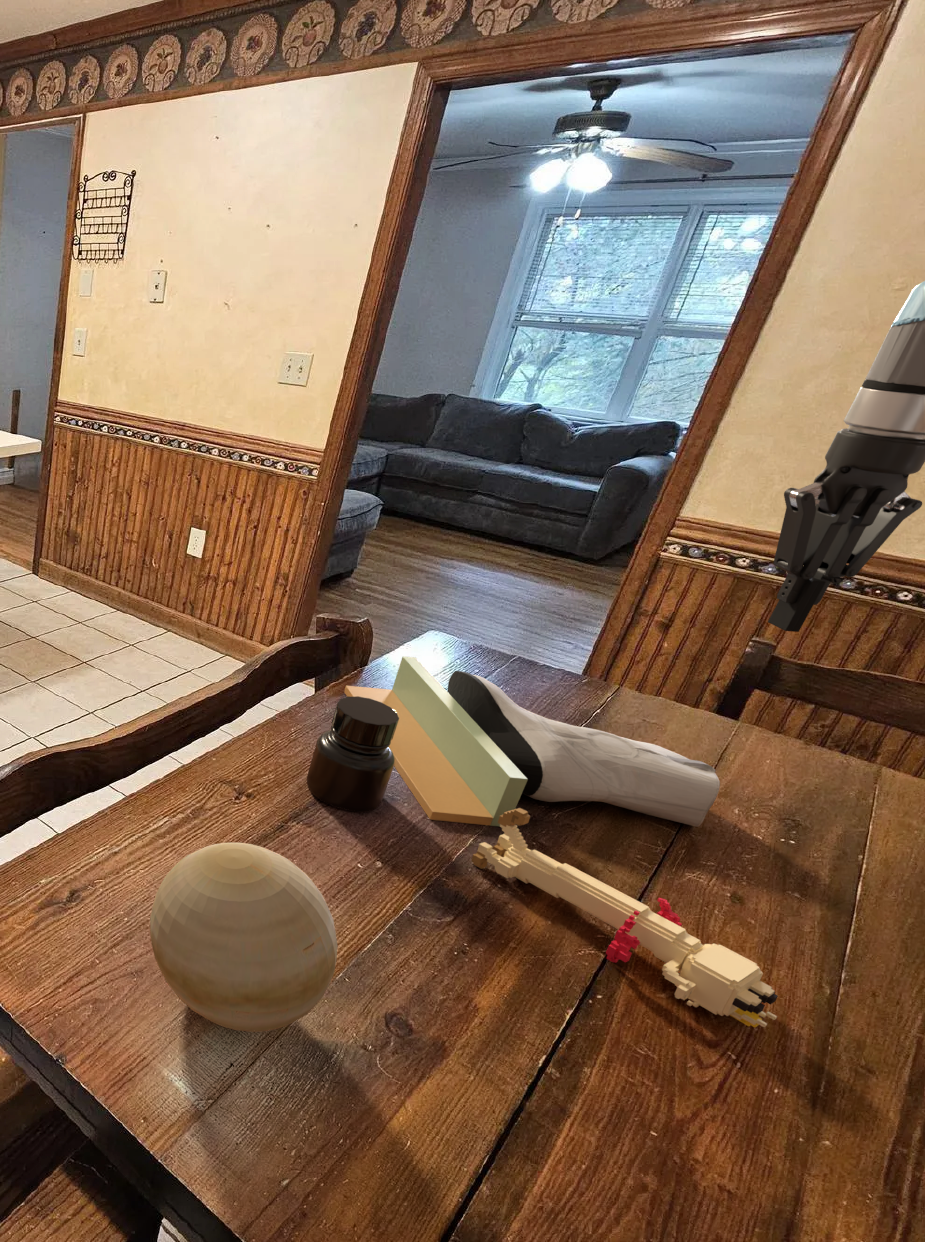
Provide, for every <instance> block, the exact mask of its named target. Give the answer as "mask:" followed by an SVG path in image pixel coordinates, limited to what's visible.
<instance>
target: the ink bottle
mask: <svg viewBox="0 0 925 1242" xmlns="http://www.w3.org/2000/svg"><path fill="white" fill-rule="evenodd" d="M398 721H399V717H398V714H397V712H395V711H394V710H393V709H392V708H391V707H389V706H387V705H385V704H383V703H382V702H379V701H376V700H373V699H370V698H364V697H359V696H356V697H349V696H348V697H347V696H345V697H341V698H340V699H339V700H338V701H337V702H336V706H335V710H334V712H333V717H332V719H331V725H330V729H328V730H326V731H324V732H323V733H321V734H320V735H319V737H318V738H317V741H316V743H315V747H314V751H313V753H312V757H311V761H310V764H309V768H308V771H307V775H306V784H307V788H308V789H309V791H310V792H311V794H312V795H313V796H315V797H316V798H317V799H318V800H320V801H321V802H323V803H325V804H327V805H329V806H332V807H335V808H337V809H341V810H345V811H350V812H354V813H368V812H372V811H374V810H376V809H378V808H379V807H380V806H381V805H382V802H383V799H384V796H385V794H386V790H387V788H388V784H389V782H390V778H391V776H392V772H393V769H394V768H395V767H394V763H395V758H394V755H393V752H392V751H391V749H390V748H389V746H390V744H391V740H392V739H393V736H394V733H395V730H396V727H397V724H398Z"/></svg>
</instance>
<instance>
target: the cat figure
mask: <svg viewBox="0 0 925 1242" xmlns="http://www.w3.org/2000/svg"><path fill="white" fill-rule="evenodd" d="M530 818H531V815H529V811H527V810H526V809H524V808H521V807H518V808H515V809H514V810H510V811H507V812H504V814H503V815H501V816H500V817H499V820H498V823H499V824H500V826H499V828H501V831H502V832H503V834H500V835H499V836H498V839H497V842H496V844H495V845H491V844H489V843H487V842H485V841H483V842H481V843H478V847H477V850H476V852H475V853H473V854H472V857H471V860H470V861H471V863H473V866H475V867H477V868H479V869H480V870H483V869H485V868H487V866H488V864H490V865H492V866H494V868H493V869H494V870H495V872H496V873H497V875H500V876H502V877H504V878H505V879H513V878H516V879H518V880H519V881H521V882H523V883H525V884H531V885H533V886H535V887H536V888H538V889H540V890H542V891H544V892H545V893H547V894H549V895H551V896H552V897H554V898H556V899H560V898H561V899H563V900H565V901H567V902H568V903H570V904H572V905H573V906H575V907H577V908H579V909H581V910H582V911H584V912H586V913H587V914H590V915H592V916H593V917H595V918H597V919H598V920H600V921H602V922H604V923H606V924H607V925H609V926H611V927H612V928H615V929H616V932H615V935H614V938H613V940H611V942H610V944H608V946H607V947H606V948H607V949H606V951H605V954H606V960H608V961H610V962H612V963H615V964H617V963H618V962H619V960H620V961H622V962H623V963H627V962H629V961H630V959H631V958H632V957H631V956H632V955H633V952H631V949H633V950H636V949H637V948H638V946H641V947H643V948H644V949H647V950H648V951H650V952H652V954H653V956H654V957H655V958H657V959H658V960H661V961H662V962H663V963H664V964H663V966H662V968H661V971H662V973H661V975H662V976H664V979H665V980H667V981H669V982H670V983H672V984H674V986H676V989H675V991H674V993H673V994H674V998H675V999H676V1000H677V999H678V1000H680V999H681V1000H682V1001H685V1000H688V1001H686V1005H687V1006H689V1007H691V1006H692V1007H694V1008H698V1007H699V1006H700V1007H702V1008H704V1009H705V1010H707V1011H709V1012H710V1013H711V1014H714V1015H715V1016H716V1015H718V1016H721V1017H724V1016H726V1017H729V1016H730V1017H731V1018H733V1019H735V1020H736V1021H738V1022H740V1023H742V1024H744V1025H745V1026H747V1027H753V1028H754V1029H755V1028H757V1027H758V1026H760V1027H762V1028H766V1027H767V1026H768V1022H765V1021H764V1020H763V1018H766V1017H767V1018H770V1019H771V1020H773V1021H775V1020H776V1019H777V1018H778V1016H777V1015H775V1014H773V1013H772V1012H771V1011H769V1010H768V1011H767V1012H765V1011H763V1010H764V1008H765V1007H766V1005H765V1003H766V1004H768V1005H772V1004H774V1003H775V1002H776V1001H777V999H778V997H779V996H778V995H777V994H775V993H776V990H775V989H773V986H770V985H769V984H767V983H765V982H763V981H762V980H761V979H762V977H763V975H764V973H763V971H762V970H761V967H760V966H758V963H757V962H754V961H752V960H750V959H749V958H747V957H745V956H744V955H741V954H740V953H737V952H736V951H733V950H732V949H730V948H728V947H726V946H723V945H722V944H720V943H719V944H716V943H712V944H710V943H704V944H703V943H702V942H701V939H699V938H697V937H695V936H693V935H691V934H689V933H688V932H687V930H686V928H684V927H682V926H683V923H682V922H681V917H680V916H679V914H678V913H676V912H674V911H673V909H672V908H671V907H672V906H671V903H670V902H669V900H667V899H666V898H662V897H658V898H657V900H656V901H657V902H658V903H659V905H658V906H659V907H660V908H659V909H660V910H659V911H657V912H656V913H655V912H654V911H652V910H651V908H650V906H648V905H646V904H645V903H643V902H640V901H639V900H637V899H635V898H633V897H631V896H629V895H627V894H626V893H623V892H621V891H620V890H618V889H616V888H614V887H612V886H610V885H608V884H607V883H604V882H602V881H601V880H599V879H597V878H595V877H593V876H591V875H589V874H588V873H585V872H583V871H581V870H580V869H578V868H576V867H575V866H572V865H570V864H568V863H566V862H564V863H561V862H559V861H557V860H555V859H554V858H551V857H550V856H549V855H546V854H544V853H542V852H540V851H539V850H537V849H530V848H528V846H529V845H528V844H527V843H526V842H527V841H526V840H525V839H524V836H523V835H522V832H520V829H519V828H518V826H519V827H521V826H525V825H527V824H529V822H530ZM678 972H679V973H678Z"/></svg>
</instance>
